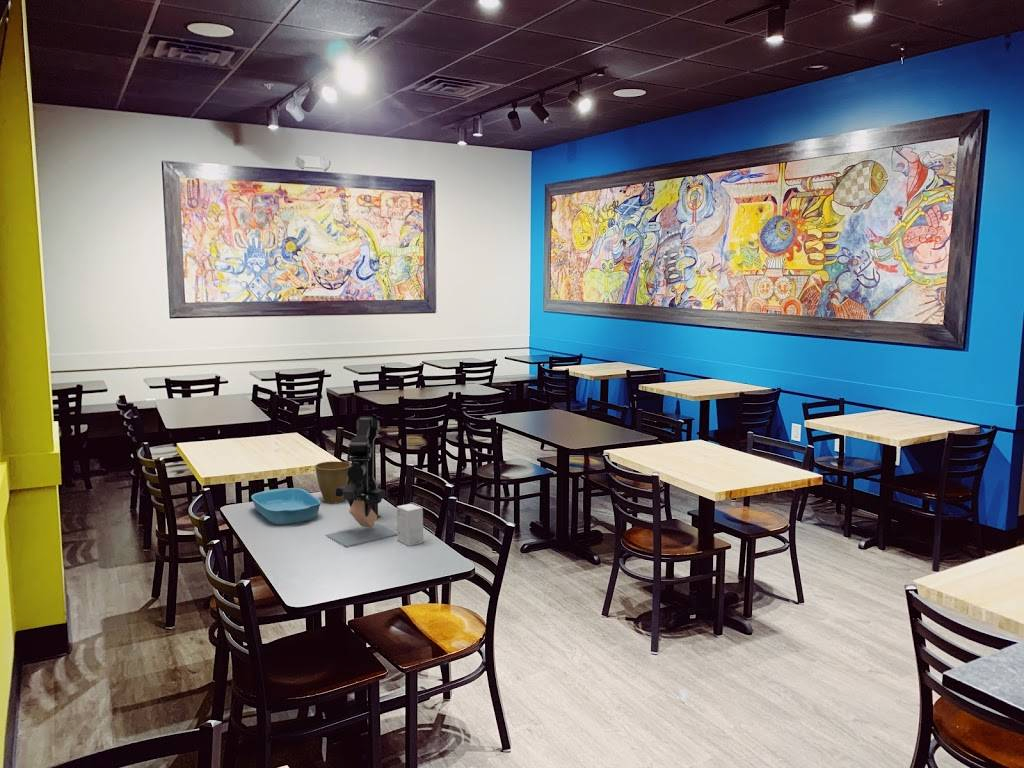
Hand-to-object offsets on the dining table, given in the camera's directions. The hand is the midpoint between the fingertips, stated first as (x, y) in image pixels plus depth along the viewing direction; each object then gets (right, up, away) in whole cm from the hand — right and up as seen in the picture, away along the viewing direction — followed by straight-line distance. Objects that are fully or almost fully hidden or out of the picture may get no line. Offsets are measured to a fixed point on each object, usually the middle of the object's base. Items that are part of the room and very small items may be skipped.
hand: (360, 515), depth 289 cm
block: (+2, -3, +6) cm, 7 cm away
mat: (+1, -8, 0) cm, 8 cm away
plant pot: (-20, -2, +46) cm, 51 cm away
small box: (+19, -9, -6) cm, 22 cm away
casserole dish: (-35, -5, +27) cm, 45 cm away
